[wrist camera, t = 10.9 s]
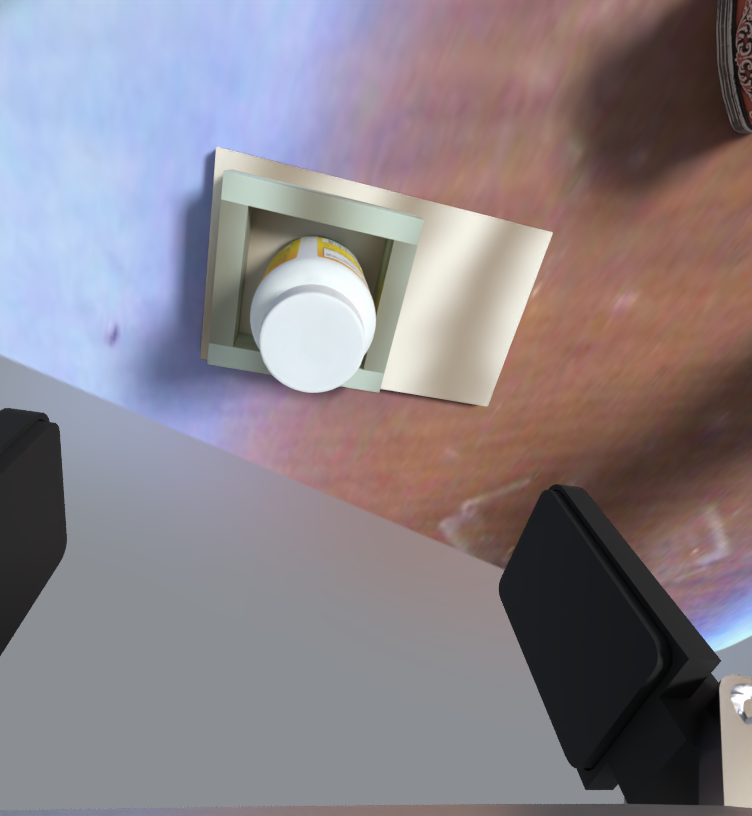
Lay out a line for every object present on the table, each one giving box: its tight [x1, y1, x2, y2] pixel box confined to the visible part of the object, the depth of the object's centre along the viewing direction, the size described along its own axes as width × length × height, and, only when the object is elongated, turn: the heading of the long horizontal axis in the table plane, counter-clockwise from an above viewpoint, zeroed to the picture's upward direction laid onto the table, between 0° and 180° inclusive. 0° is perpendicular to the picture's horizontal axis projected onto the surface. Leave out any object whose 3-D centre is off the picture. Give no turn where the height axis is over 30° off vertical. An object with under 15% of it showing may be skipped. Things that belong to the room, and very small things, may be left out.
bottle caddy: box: [200, 147, 553, 406], centre depth 26 cm, size 18×11×3 cm, turn 77°
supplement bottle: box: [250, 235, 376, 393], centre depth 22 cm, size 5×5×10 cm
